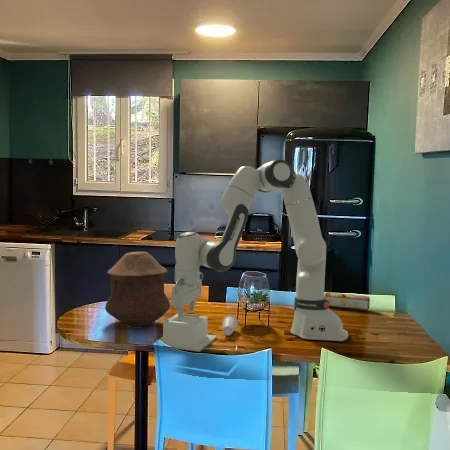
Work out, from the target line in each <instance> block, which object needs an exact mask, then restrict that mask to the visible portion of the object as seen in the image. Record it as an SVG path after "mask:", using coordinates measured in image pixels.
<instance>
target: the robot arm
mask: <svg viewBox="0 0 450 450" xmlns="http://www.w3.org/2000/svg"><path fill="white" fill-rule="evenodd" d="M274 191H278V192H279V193H280V194H281V196H282V198H283V202H284V203H283V204H284V206H285V210H286V214H287V217H288V222H289V224H290V230H291V235H292V240H293V244H294V249H295V253H296V257H297V267H296V271H297V272H296V279H295V280H296V282H295V284H296V285H295V296H294V300H293V309H294V313H293V314H294V315H293V319H292V320H293V321H292V325H291V329H290V330H289V331H290V333H291V334H293V335H295V336H298V337H300V338H301V339H304V340H316V341H335V342H343V341H346V340H347V339H348V338H349V333H348V331H347V330H346V329H344V327H343V321H342V319H341V318H340V317H339V315H337V314H336V313H335V312H333V310H331V309H330V308H329V307H330V306H329V300H326V299H325V298H324V296H325V283H326V282H325V278H326V266H327V265H326V264H327V263H326V261H327V243H326V241H325V240H324V238H323V236H322V230H321V227H320V226H321V225H320V221H319V218H318V213H317V209H316V206H315V202H314V199H313V196H312V192H311V189H310V187H309V184H308V182H307V181H306V178H305V177H304V176H303V175H302V174H300V173H296V171H294V169H293V167H292V166H291V164H290V163H289V162H287V161H286V160H285V159H282V158H281V159H279V158H278V159H276V158H275V159H273V160H272V159H271V161H267V162H265V163H263V164H262V165H261V166H260V167H257V168H255V167H253V166H248V165H244V166H240V167H239V168H238V169H237V170H236V171H235V173H234V174H233V176H232V178H231V179H230V181H229V182H228V184H227V186H226V187H225V189H224V191H223V194H222V196H221V200H220V202H221V203H220V204H221V206H222V209H223V210H224V211H225V212H226V213H227V216H228V220H227V221H228V222H227V224H226V227H225V229H224V232H223V234H222V237H221V238H220V240H219V241H213V240H210V239H207V238H205V237H203V236H201V235H200V234H199V233H198V232H196V231H186V232H182V233H180V234H179V235H178V236H177V237H176V240H175V247H174V248H175V249H174V259H175V266H174V282H175V284H174V285H173V286H172V287H171V288H172V289H171V296H170V297H171V298H170V299H171V300H170V306H171V307H172V308H176V311H177V314H178V317H179V318H183V317H184V314H185V312H184V306H186V305H188V307H187V309H188V310H187V311H188V313H193V312H195V305H196V301H197V299H199V298H200V297H201V294H202V288H203V287H202V285H203V282H202V280H203V278H204V274H203V272H201V271H200V267H201V266H204V267H206V268H209V269H212V270H213V271H216V272H217V273H218V272H220V273H223V272H226V271H228V270H230V268H231V267H232V266H233V264H234V263H235V260H236V254H237V248H238V246H239V242H240V240H241V237H242V235H243V232H244V230H245V227H246V225H247V221H248V217H249V209H250V206H251V204H252V202H253V200H254V199H255V196H256V194H257V192H261V193H269V192H274Z"/></svg>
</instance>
